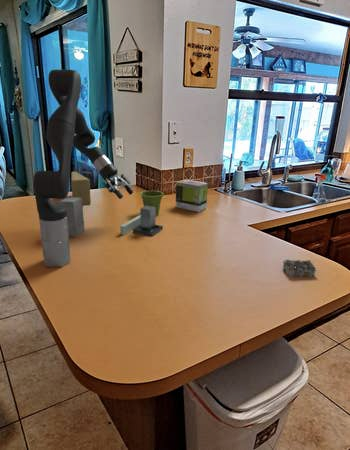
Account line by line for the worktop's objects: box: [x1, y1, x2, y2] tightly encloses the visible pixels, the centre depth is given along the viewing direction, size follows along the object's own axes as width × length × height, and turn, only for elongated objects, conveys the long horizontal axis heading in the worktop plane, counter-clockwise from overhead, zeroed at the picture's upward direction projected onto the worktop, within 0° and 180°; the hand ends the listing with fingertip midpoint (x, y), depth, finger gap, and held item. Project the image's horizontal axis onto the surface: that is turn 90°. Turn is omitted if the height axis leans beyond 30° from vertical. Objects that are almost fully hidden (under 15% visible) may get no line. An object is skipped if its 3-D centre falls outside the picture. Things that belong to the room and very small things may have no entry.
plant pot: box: [140, 190, 164, 216], centre depth 175 cm, size 12×12×11 cm
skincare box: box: [59, 196, 85, 238], centre depth 146 cm, size 8×7×16 cm
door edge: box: [119, 214, 140, 236], centre depth 157 cm, size 20×2×4 cm, turn 155°
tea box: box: [175, 179, 209, 213], centre depth 187 cm, size 15×10×15 cm
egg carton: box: [282, 259, 318, 278], centre depth 122 cm, size 11×8×4 cm
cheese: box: [70, 171, 92, 206], centre depth 193 cm, size 22×10×15 cm, turn 26°
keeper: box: [132, 224, 164, 237], centre depth 155 cm, size 10×10×2 cm
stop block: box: [139, 205, 156, 232], centre depth 153 cm, size 5×5×11 cm
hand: (126, 195), depth 154 cm, fingers open, 8 cm apart
